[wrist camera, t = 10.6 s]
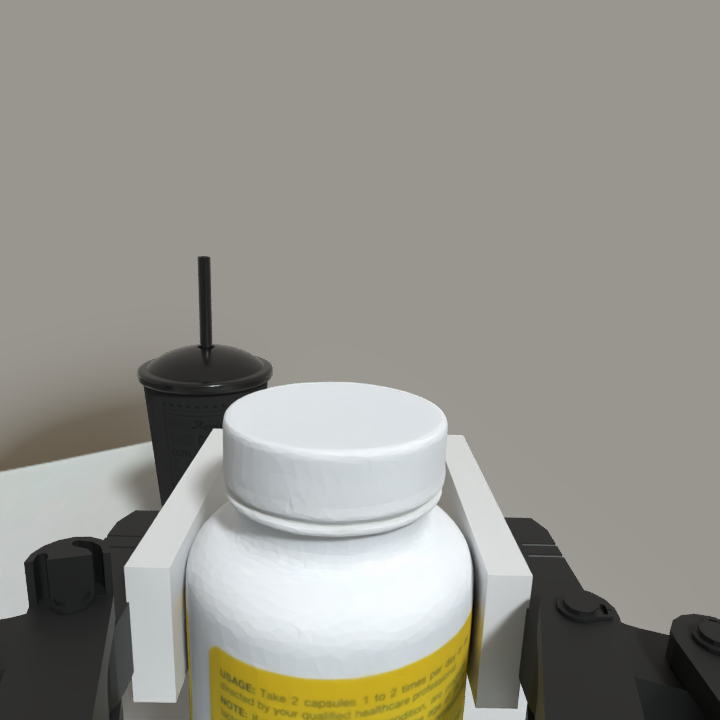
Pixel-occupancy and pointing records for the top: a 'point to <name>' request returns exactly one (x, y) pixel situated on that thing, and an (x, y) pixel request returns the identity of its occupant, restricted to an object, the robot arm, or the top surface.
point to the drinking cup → (195, 392)
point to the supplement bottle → (330, 563)
